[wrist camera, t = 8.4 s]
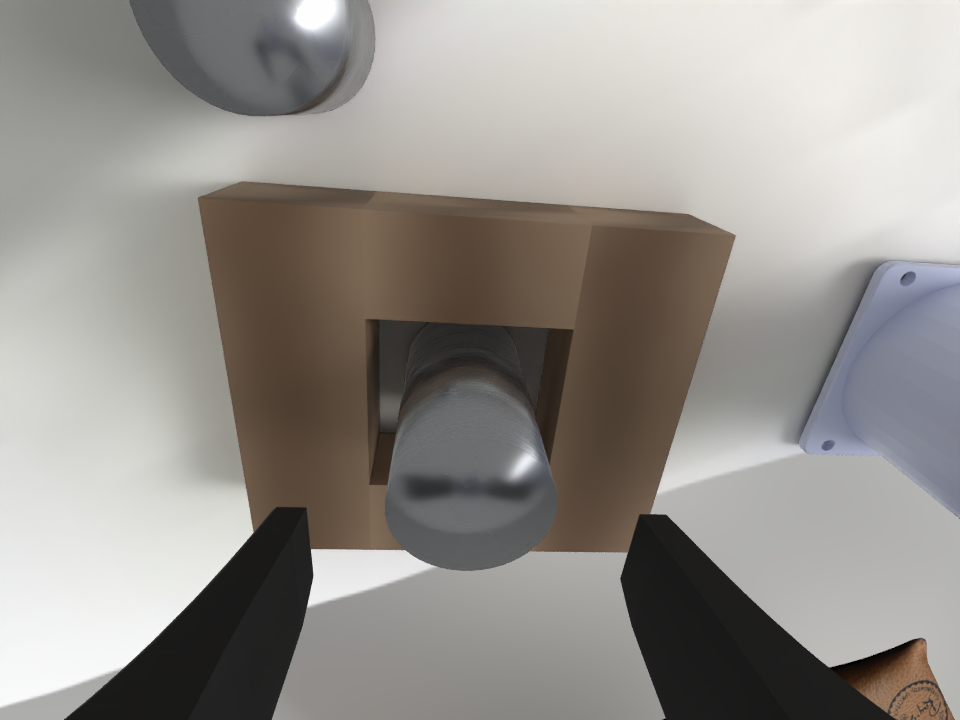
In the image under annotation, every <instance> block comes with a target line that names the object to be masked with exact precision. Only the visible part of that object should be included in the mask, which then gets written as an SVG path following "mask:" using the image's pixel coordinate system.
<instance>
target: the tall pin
mask: <svg viewBox="0 0 960 720" xmlns="http://www.w3.org/2000/svg"><path fill="white" fill-rule="evenodd" d="M557 500H558V499H557V492H556V488H555V484H554V481H553V477H552V474H551V470H550V466H549V463H548V459H547V456H546V452H545V449H544V445H543V442H542V438H541V435H540V431H539V427H538V424H537V420H536V417H535V413H534V410H533V406H532V403H531V399H530V396H529V392H528V389H527V385H526V381H525V378H524V374H523V371H522V367H521V364H520V360H519V357H518V353H517V350H516V346H515V343H514V341H513V339H512V337H511V336H510V334H509V333H508V331H507V330H506V329H505V328H504V327H503V326H497V325H477V324H458V323H438V322H429V323H427V324H426V325H425V326H424V327H423V328H422V329H421V330H420V331H419V332H418V333H417V335H416V336H415V338H414V340H413V342H412V344H411V347H410V350H409V355H408V361H407V367H406V374H405V380H404V386H403V392H402V399H401V405H400V411H399V417H398V424H397V430H396V436H395V442H394V449H393V455H392V461H391V467H390V473H389V480H388V486H387V492H386V498H385V517H386V522H387V524H388V527H389V530H390V531H391V533H392V535H393V537H394V538H395V539H396V541H397V542H398V543H399V544H400V545H401V546H402V547H403V548H404V549H405V550H406V551H407V552H409V553H410V554H411V555H413V556H414V557H416V558H418V559H420V560H422V561H424V562H426V563H429V564H431V565H434V566H437V567H441V568H446V569H451V570H463V571H468V570H469V571H472V570H483V569H488V568H493V567H497V566H501V565H504V564H506V563H509V562H512V561H514V560H516V559H518V558H520V557H521V556H523V555H525V554H526V553H528V552H529V551H530V550H532V549H533V548H534V547H535V546H537V545H538V544H539V542H540V541H541V540H542V539H543V538H544V537H545V536H546V534H547V533H548V531H549V530H550V528H551V526H552V524H553V522H554V519H555V516H556V511H557Z"/></svg>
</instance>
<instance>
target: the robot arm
mask: <svg viewBox="0 0 960 720" xmlns="http://www.w3.org/2000/svg"><path fill="white" fill-rule="evenodd" d="M905 273H906V276H905V278H904V279H903V280H901V278H902V276H903V275H904V274H905ZM900 280H901V281H900ZM824 442H825V443H824ZM823 443H824V444H823ZM799 446H800V447H801V448H802V449H803V450H804V451H805V452H806V453H808V454H822V455H856V456H882V457H883V458H885V459H886V460H887V461H888V462H890V463H891V464H892V465H893V466H895V467H896V468H897V469H898V470H900V471H901V472H902V473H903V474H905V475H906V476H907V477H908V478H910V479H911V480H912V481H913V482H914V483H916V484H917V485H918V486H920V487H921V488H922V489H923V490H924V491H926V492H927V493H928V494H929V495H931V496H932V497H933V498H935V499H936V500H937V501H938V502H939V503H941V504H942V505H943V506H944V507H946V508H947V509H948V510H949V511H950V512H952V513H953V514H954V515H955V516H957V517H958V518H959V519H960V265H948V264H933V263H919V262H904V261H888V262H885V263H883V264H882V265H880V266H879V267H878V268H877V269H876V271H875V272H874V274H873V276H872V278H871V280H870V283H869V285H868V287H867V289H866V292H865V294H864V296H863V298H862V301H861V303H860V305H859V307H858V310H857V312H856V314H855V316H854V319H853V321H852V323H851V325H850V328H849V330H848V332H847V334H846V336H845V339H844V341H843V343H842V345H841V348H840V350H839V352H838V354H837V357H836V359H835V361H834V363H833V366H832V368H831V370H830V372H829V375H828V377H827V379H826V381H825V384H824V386H823V388H822V390H821V393H820V395H819V397H818V399H817V402H816V404H815V406H814V408H813V410H812V413H811V415H810V417H809V419H808V422H807V424H806V426H805V428H804V431H803V433H802V435H801V437H800V440H799ZM620 579H621V583H622V588H623V592H624V596H625V601H626V605H627V609H628V613H629V617H630V621H631V625H632V628H633V631H634V633H635V636H636V639H637V642H638V644H639V647H640V650H641V653H642V655H643V658H644V661H645V663H646V666H647V669H648V672H649V674H650V677H651V680H652V682H653V685H654V688H655V690H656V693H657V696H658V698H659V701H660V704H661V706H662V709H663V712H664V714H665V717H666V720H896V719H895V718H894V717H892V716H891V715H889V714H888V713H887V712H885V711H884V710H882V709H881V708H880V707H878V706H877V705H876V704H874V703H873V702H872V701H871V700H869V699H868V698H867V697H865V696H864V695H863V694H861V693H860V692H859V691H857V690H856V689H855V688H854V687H852V686H851V685H850V684H849V683H847V682H846V681H845V680H844V679H842V678H841V677H840V676H839V675H837V674H836V673H835V672H834V671H832V670H831V669H830V668H829V667H827V666H826V665H825V664H824V663H822V662H821V661H820V660H819V659H818V658H816V657H815V656H814V655H813V654H811V653H810V652H809V651H808V650H807V649H806V648H804V647H803V646H802V645H801V644H800V643H799V642H797V641H796V640H795V639H794V638H793V637H792V636H791V635H790V634H789V633H787V632H786V631H785V630H784V629H783V628H782V627H781V626H780V625H778V624H777V623H776V622H775V621H774V620H773V619H772V618H771V617H769V616H768V615H767V614H766V613H765V612H764V611H763V610H762V609H761V608H760V607H759V606H757V604H756V603H754V602H753V601H752V600H751V599H750V598H749V597H748V596H747V595H746V594H745V593H744V592H743V591H742V590H741V589H740V588H739V587H738V586H737V585H736V584H735V583H734V582H733V581H732V580H730V578H729V577H728V576H726V574H725V573H724V572H722V570H720V569H719V567H718V566H717V565H716V564H715V563H714V562H712V560H711V559H710V558H709V557H708V556H707V555H706V554H705V553H704V552H703V551H702V550H701V549H700V548H699V547H698V546H697V545H696V544H695V543H694V542H693V541H692V540H691V539H690V538H689V537H688V536H687V535H686V534H685V533H684V532H683V531H682V530H681V529H680V528H679V527H678V526H677V525H676V524H675V523H674V522H673V521H672V520H671V519H670V518H669V517H668V516H667V515H657V514H653V515H652V514H639V517H638V521H637V524H636V527H635V531H634V534H633V538H632V541H631V544H630V548H629V551H628V554H627V558H626V562H625V565H624V568H623V571H622V575H621V578H620ZM312 580H313V567H312V557H311V547H310V537H309V527H308V517H307V507H276V508H275V509H273V510H272V511H271V512H270V514H269V515H268V516H267V517H266V518H265V520H264V521H263V522H262V523H261V524H260V526H259V527H258V528H257V529H256V531H255V532H254V533H253V534H252V535H251V536H250V538H249V539H248V540H247V541H246V542H245V544H244V545H243V546H242V547H241V548H240V549H239V550H238V552H237V553H236V554H235V555H234V556H233V557H232V559H231V560H230V561H229V562H228V563H227V564H226V565H225V566H224V567H223V569H222V570H221V571H220V572H219V573H218V574H217V575H216V576H215V577H214V578H213V580H212V581H211V582H210V583H209V584H208V585H207V586H206V587H205V588H204V589H203V591H202V592H201V593H200V594H199V595H198V596H197V597H196V598H195V599H194V600H193V601H192V602H191V603H190V604H189V605H188V606H187V607H186V608H185V609H184V610H183V611H182V612H181V613H180V614H179V615H178V616H177V617H176V618H175V619H174V620H173V621H172V622H171V623H170V624H169V625H168V626H167V627H166V628H165V629H164V630H163V631H162V632H161V633H160V634H159V635H158V636H157V637H156V638H155V639H154V640H153V641H152V642H151V643H150V644H149V645H148V646H147V647H146V648H145V649H144V650H143V651H142V652H141V653H140V654H139V655H137V656H136V657H135V658H134V659H133V660H132V661H131V662H130V663H129V664H128V665H127V666H126V667H124V668H123V669H122V670H121V671H120V672H119V673H118V674H117V675H116V676H114V678H112V679H111V680H110V681H109V682H108V683H107V684H105V685H104V686H103V687H102V688H101V689H100V690H99V691H98V692H96V693H95V694H94V695H93V696H92V697H91V698H89V699H88V700H87V701H86V702H85V703H83V704H82V705H81V706H80V707H79V708H77V709H76V710H75V711H74V712H73V713H71V714H70V715H69V716H68V717H67V718H66V719H64V720H272V717H273V714H274V711H275V708H276V705H277V702H278V698H279V695H280V693H281V690H282V686H283V684H284V681H285V677H286V675H287V671H288V669H289V666H290V663H291V660H292V657H293V653H294V651H295V648H296V644H297V641H298V638H299V635H300V632H301V629H302V626H303V622H304V617H305V613H306V608H307V604H308V599H309V595H310V590H311V585H312Z"/></svg>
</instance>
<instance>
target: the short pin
mask: <svg viewBox="0 0 960 720" xmlns="http://www.w3.org/2000/svg"><path fill="white" fill-rule="evenodd" d="M130 4H131V7H132V10H133V13H134V15H135V18H136V21H137V23H138V25H139V27H140V29H141V31H142V33H143V36H144V37H145V39H146V41H147V42H148V44H149V46H150V47H151V49H152V51H153V52H154V54H155V55H156V56H157V58H158V59H159V60H160V62H161V63H162V64H163V65H164V67H165V68H166V69H167V70H168V71H169V72H170V73H171V74H172V75H173V76H174V78H176V79H177V80H178V81H179V82H180V83H181V84H182V85H183V86H185V87H186V88H187V89H188V90H190V91H191V92H192V93H194V94H195V95H197V96H198V97H199V98H201V99H203V100H205V101H206V102H208V103H210V104H212V105H214V106H216V107H219V108H221V109H223V110H226V111H230V112H233V113H237V114H242V115H248V116H277V115H297V114H316V113H323V112H327V111H331V110H334V109H336V108H338V107H340V106H342V105H343V104H345V103H346V102H348V101H349V100H350V99H351V98H352V97H354V96H355V95H356V93H357V92H358V91H359V90H360V88H361V87H362V86H363V84H364V82H365V81H366V79H367V76H368V74H369V72H370V69H371V66H372V62H373V58H374V52H375V26H374V21H373V15H372V12H371V8H370V5H369V2H368V0H130Z"/></svg>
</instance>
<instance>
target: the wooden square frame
mask: <svg viewBox="0 0 960 720" xmlns="http://www.w3.org/2000/svg"><path fill="white" fill-rule="evenodd" d="M198 201H199V207H200V213H201V219H202V225H203V231H204V237H205V243H206V249H207V255H208V261H209V267H210V273H211V279H212V285H213V291H214V297H215V303H216V309H217V315H218V321H219V327H220V333H221V339H222V345H223V351H224V357H225V363H226V369H227V375H228V381H229V387H230V393H231V399H232V405H233V411H234V417H235V423H236V429H237V435H238V441H239V447H240V453H241V459H242V465H243V471H244V477H245V483H246V489H247V495H248V501H249V507H250V513H251V519H252V525H253V531H254V532H255V531H256V529H257V528H258V527H259V526H260V524H261V523H262V522H263V521H264V520H265V518H266V517H267V516H268V515H269V514H270V512H271V511H272V510H273V509H275V508H276V507H307V517H308V527H309V537H310V547H311V549H361V550H405V549H404V548H403V547H402V546H401V545H400V544H399V543H398V542H397V541H396V539H395V538H394V537H393V535H392V533H391V531H390V530H389V527H388V524H387V522H386V517H385V498H386V492H387V486H388V480H389V473H390V467H391V461H392V455H393V449H394V442H395V436H396V433H380V395H379V320H399V321H419V322H438V323H458V324H477V325H497V326H517V327H536V328H549V332H548V339H547V345H546V352H545V358H544V365H543V371H542V378H541V384H540V391H539V397H538V404H537V410H536V420H537V424H538V427H539V431H540V435H541V438H542V442H543V445H544V449H545V452H546V456H547V459H548V463H549V466H550V470H551V474H552V477H553V481H554V484H555V488H556V492H557V499H558V500H557V511H556V516H555V519H554V522H553V524H552V526H551V528H550V530H549V531H548V533H547V534H546V536H545V537H544V538H543V539H542V540H541V541H540V542H539V544H538V545H537V546H535V547H534V548H533V549H532V550H530V551H545V552H546V551H547V552H555V551H556V552H628V551H629V548H630V544H631V541H632V538H633V534H634V531H635V527H636V524H637V521H638V517H639V514H650V512H651V509H652V506H653V503H654V499H655V496H656V493H657V490H658V487H659V483H660V480H661V477H662V474H663V470H664V467H665V464H666V461H667V457H668V454H669V451H670V448H671V444H672V441H673V438H674V435H675V431H676V428H677V425H678V422H679V418H680V415H681V412H682V409H683V405H684V402H685V399H686V396H687V392H688V389H689V386H690V383H691V379H692V376H693V373H694V370H695V366H696V363H697V360H698V357H699V353H700V350H701V347H702V344H703V340H704V337H705V334H706V331H707V327H708V324H709V321H710V318H711V314H712V311H713V308H714V305H715V301H716V298H717V295H718V292H719V288H720V285H721V282H722V279H723V275H724V272H725V269H726V266H727V262H728V259H729V256H730V253H731V249H732V246H733V243H734V240H735V236H736V235H734V234H731V233H729V232H727V231H725V230H722V229H720V228H718V227H716V226H713V225H711V224H709V223H707V222H705V221H702V220H700V219H698V218H696V217H693V216H691V215H689V214H678V213H664V212H651V211H637V210H623V209H610V208H596V207H582V206H569V205H555V204H541V203H528V202H514V201H501V200H487V199H473V198H460V197H446V196H432V195H419V194H405V193H391V192H378V191H364V190H350V189H337V188H323V187H310V186H296V185H282V184H269V183H255V182H240V183H237V184H234V185H231V186H229V187H226V188H223V189H221V190H218V191H215V192H212V193H210V194H207V195H204V196H201V197H199V198H198Z"/></svg>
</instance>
